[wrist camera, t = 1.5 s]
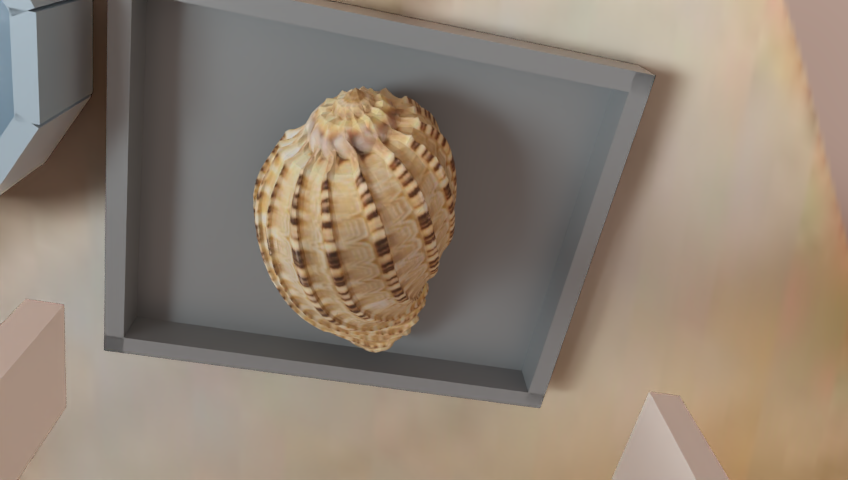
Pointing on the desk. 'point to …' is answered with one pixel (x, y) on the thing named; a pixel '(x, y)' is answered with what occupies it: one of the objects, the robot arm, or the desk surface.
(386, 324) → the seashell
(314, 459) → the desk surface
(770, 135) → the desk surface
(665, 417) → the robot arm
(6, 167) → the bowl
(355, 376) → the tray
